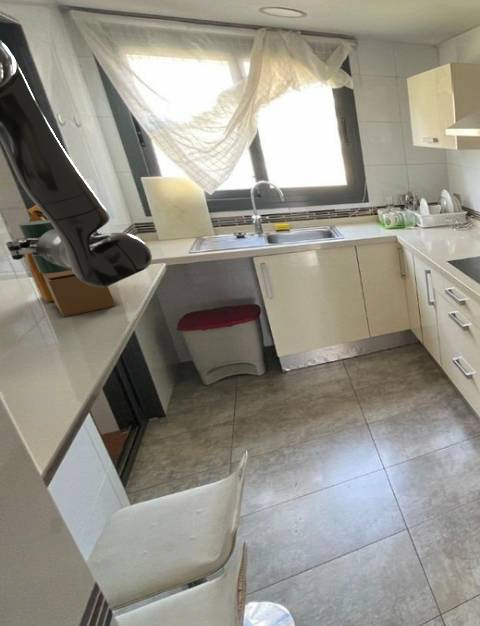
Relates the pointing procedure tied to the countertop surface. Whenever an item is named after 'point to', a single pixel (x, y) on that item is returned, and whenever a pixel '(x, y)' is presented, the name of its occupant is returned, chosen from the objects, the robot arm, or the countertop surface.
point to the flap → (59, 274)
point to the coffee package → (37, 276)
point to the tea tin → (38, 230)
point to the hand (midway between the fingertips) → (41, 240)
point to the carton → (77, 295)
